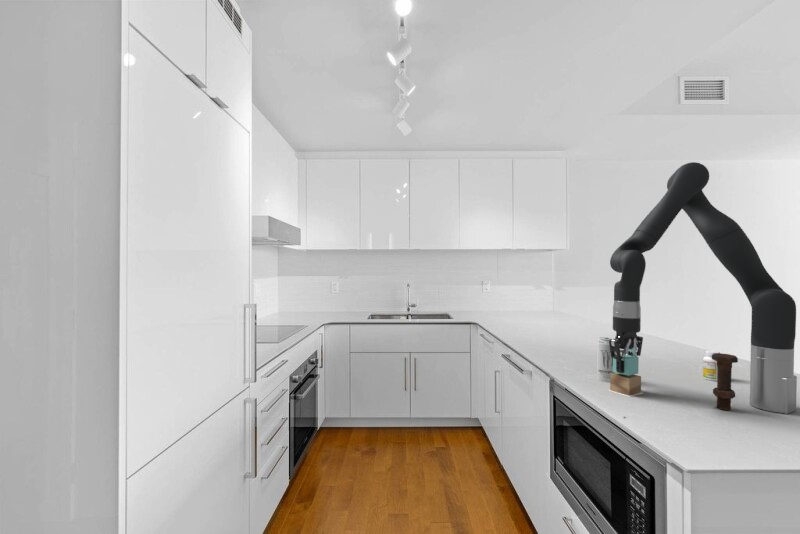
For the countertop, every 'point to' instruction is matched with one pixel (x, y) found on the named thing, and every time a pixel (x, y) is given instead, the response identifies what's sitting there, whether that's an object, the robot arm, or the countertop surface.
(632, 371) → the teal block
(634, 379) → the base block
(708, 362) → the supplement bottle
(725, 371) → the bolt
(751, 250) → the robot arm
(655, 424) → the countertop surface
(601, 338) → the energy drink can
